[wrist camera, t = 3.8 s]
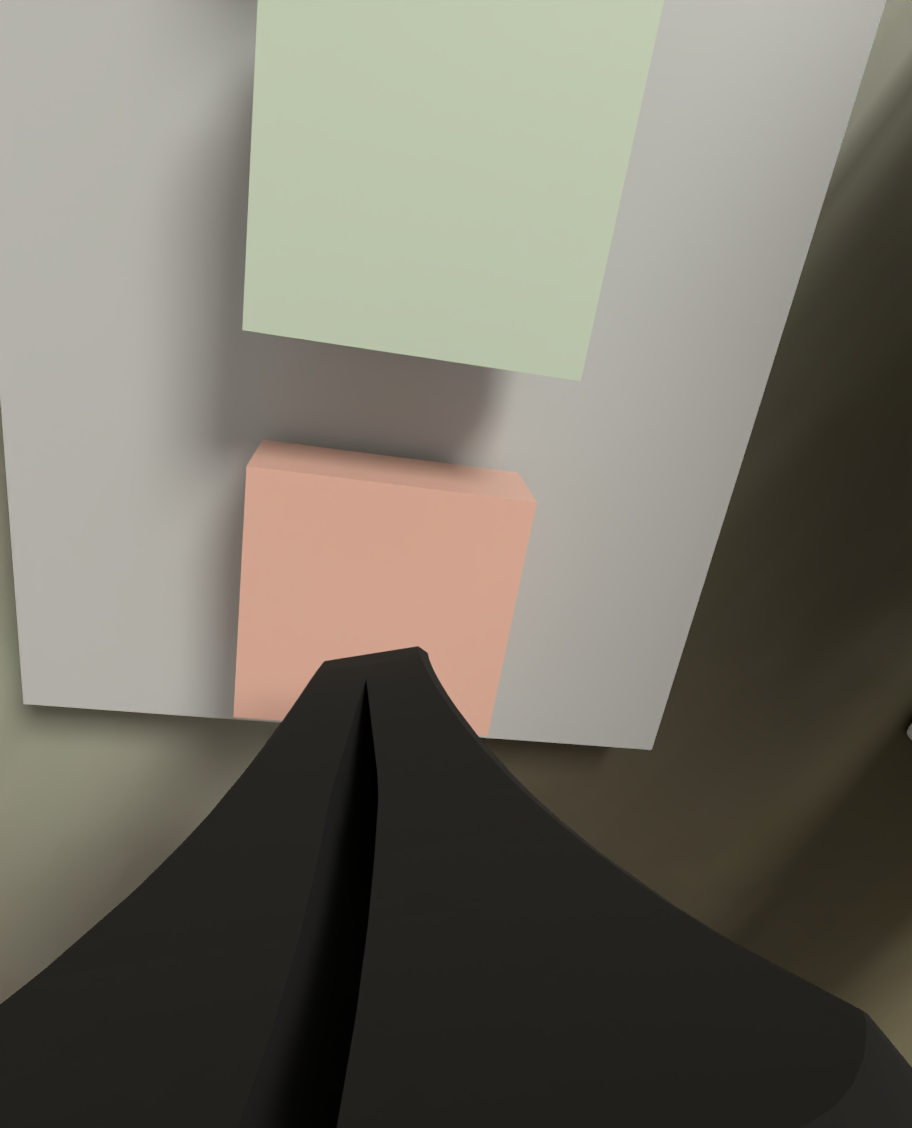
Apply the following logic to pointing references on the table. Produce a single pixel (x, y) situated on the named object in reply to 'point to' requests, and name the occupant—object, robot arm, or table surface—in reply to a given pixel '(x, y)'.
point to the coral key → (376, 571)
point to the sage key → (441, 173)
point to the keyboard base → (380, 356)
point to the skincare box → (910, 731)
